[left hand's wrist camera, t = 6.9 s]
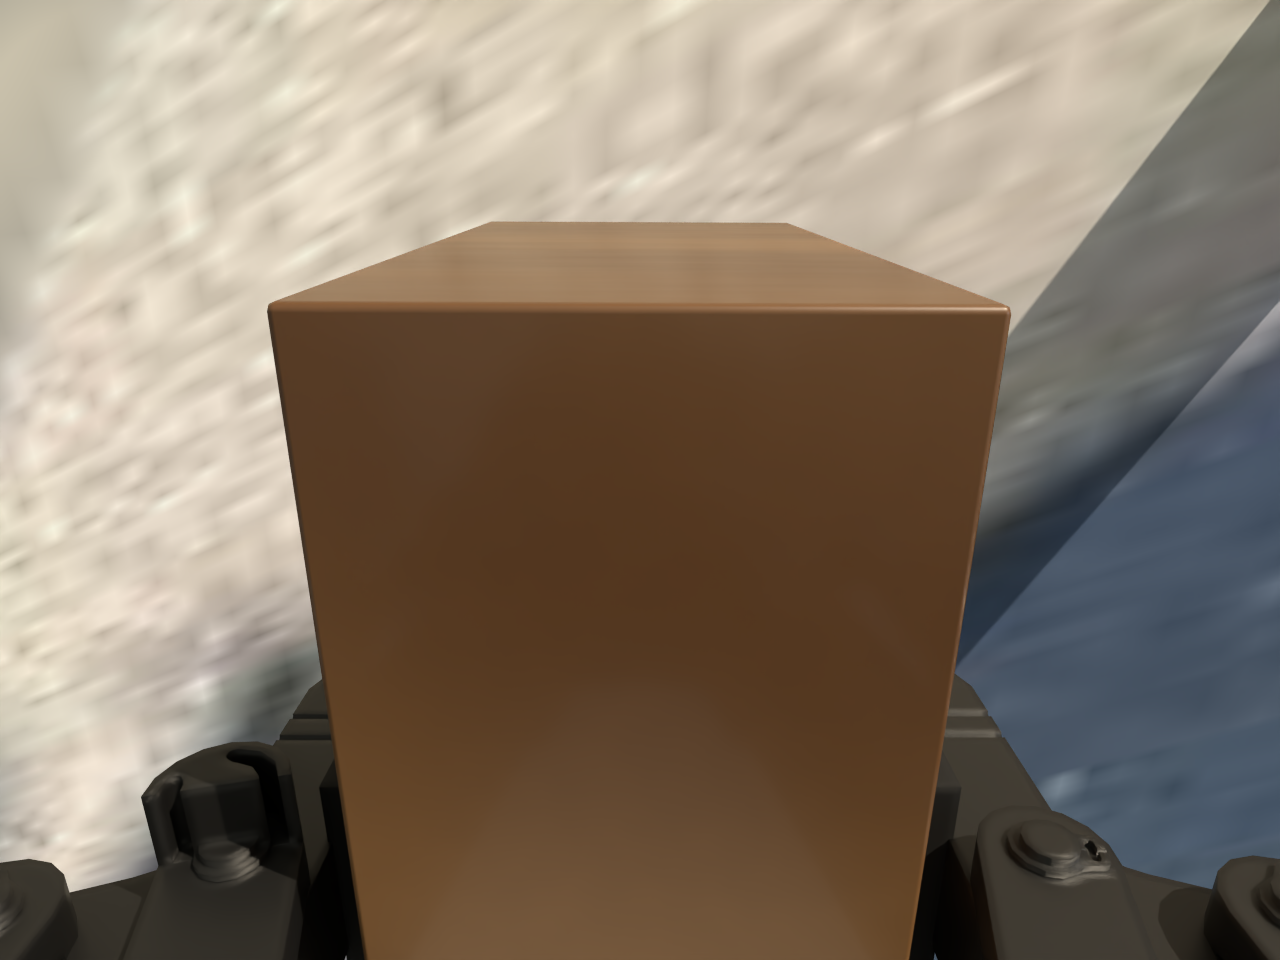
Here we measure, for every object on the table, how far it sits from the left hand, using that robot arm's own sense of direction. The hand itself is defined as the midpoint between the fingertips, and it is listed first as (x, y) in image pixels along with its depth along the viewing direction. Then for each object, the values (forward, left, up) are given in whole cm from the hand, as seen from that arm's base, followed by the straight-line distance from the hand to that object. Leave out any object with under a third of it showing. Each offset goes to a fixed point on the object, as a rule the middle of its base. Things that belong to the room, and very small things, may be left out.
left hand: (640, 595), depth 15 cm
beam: (+10, +31, -1) cm, 32 cm away
